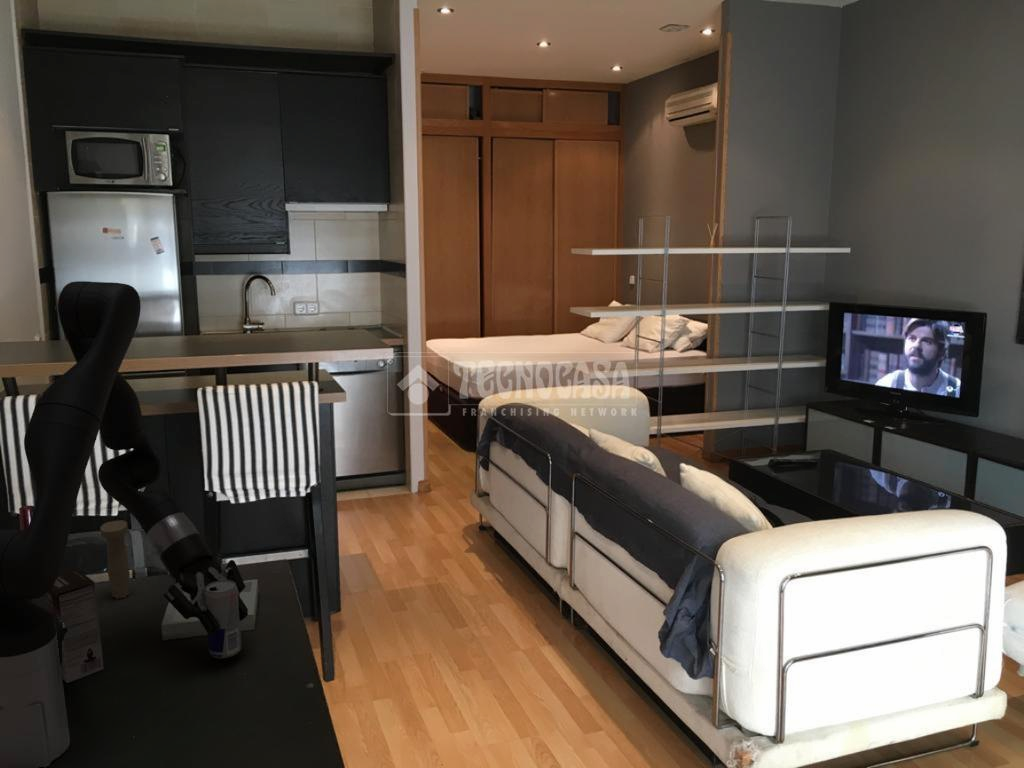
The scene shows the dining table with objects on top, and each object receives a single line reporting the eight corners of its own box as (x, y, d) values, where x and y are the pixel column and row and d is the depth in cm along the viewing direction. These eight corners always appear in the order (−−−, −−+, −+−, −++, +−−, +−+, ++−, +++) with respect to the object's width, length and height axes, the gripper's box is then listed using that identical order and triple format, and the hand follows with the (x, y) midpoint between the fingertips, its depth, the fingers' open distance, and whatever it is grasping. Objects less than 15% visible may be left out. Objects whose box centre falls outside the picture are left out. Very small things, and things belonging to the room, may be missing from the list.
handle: (134, 587, 174) (127, 519, 171) (133, 600, 168) (126, 529, 165) (109, 591, 172) (101, 522, 169) (107, 604, 166) (99, 533, 164)
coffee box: (45, 665, 144) (34, 577, 141) (84, 651, 148) (74, 566, 145) (66, 684, 138) (55, 593, 135) (106, 669, 142) (96, 580, 139)
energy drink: (207, 647, 146) (202, 583, 144) (239, 641, 148) (235, 577, 146) (210, 661, 141) (205, 595, 139) (243, 654, 143) (239, 589, 141)
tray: (254, 629, 156) (253, 614, 155) (162, 640, 152) (161, 625, 151) (258, 593, 171) (257, 579, 170) (174, 602, 167) (173, 588, 167)
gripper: (151, 546, 139) (205, 631, 135) (221, 521, 151) (272, 597, 147) (134, 570, 142) (186, 653, 139) (203, 543, 155) (253, 618, 151)
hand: (230, 624), depth 143 cm, fingers closed on energy drink, 5 cm apart
